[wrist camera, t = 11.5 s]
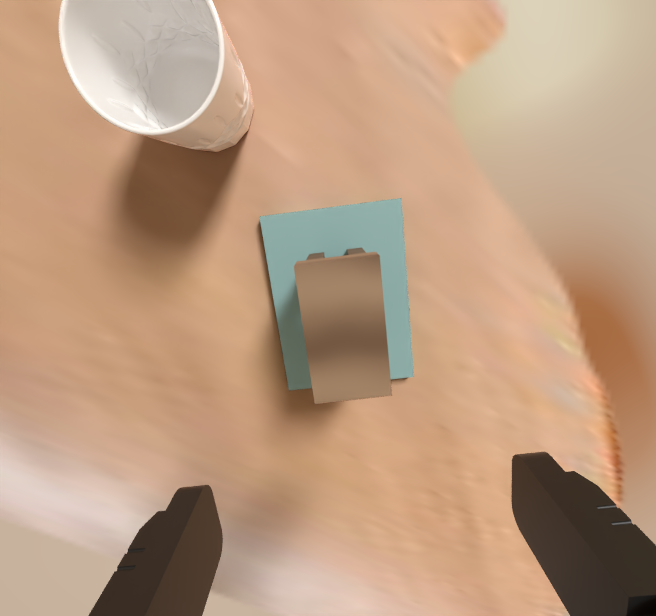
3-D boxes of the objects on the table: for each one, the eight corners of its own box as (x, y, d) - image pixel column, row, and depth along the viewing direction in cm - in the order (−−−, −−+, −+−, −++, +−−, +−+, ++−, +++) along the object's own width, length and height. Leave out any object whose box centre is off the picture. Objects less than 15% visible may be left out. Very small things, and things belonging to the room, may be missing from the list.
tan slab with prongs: (303, 251, 29) (293, 266, 21) (366, 242, 29) (379, 255, 21) (318, 355, 31) (314, 404, 23) (376, 348, 31) (392, 395, 23)
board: (290, 385, 33) (288, 390, 32) (261, 216, 29) (259, 216, 28) (411, 371, 33) (413, 376, 32) (398, 198, 29) (401, 198, 28)
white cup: (269, 153, 28) (237, 124, 18) (169, 166, 28) (85, 144, 18) (252, 35, 26) (205, -69, 16) (144, 50, 26) (34, -43, 16)
